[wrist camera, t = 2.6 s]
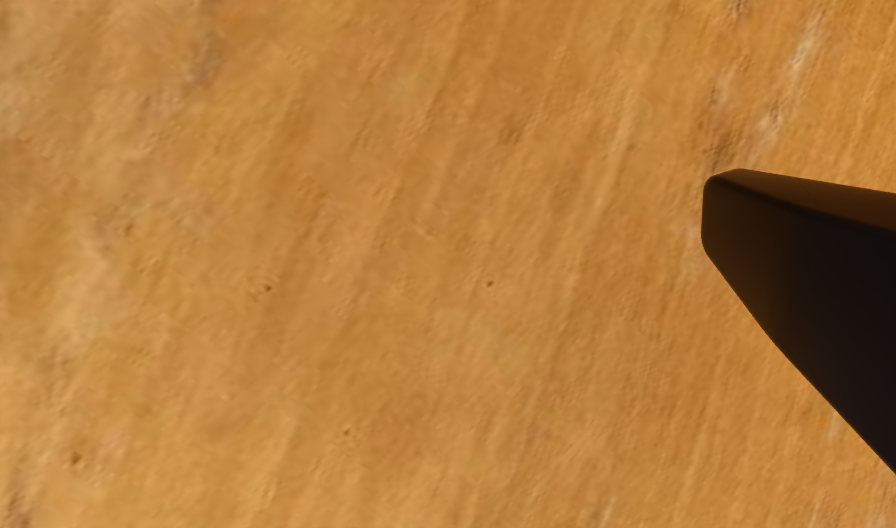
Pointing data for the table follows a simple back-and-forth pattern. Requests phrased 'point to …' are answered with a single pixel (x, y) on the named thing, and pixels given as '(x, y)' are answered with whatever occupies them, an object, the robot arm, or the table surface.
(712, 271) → the table surface
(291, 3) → the table surface
